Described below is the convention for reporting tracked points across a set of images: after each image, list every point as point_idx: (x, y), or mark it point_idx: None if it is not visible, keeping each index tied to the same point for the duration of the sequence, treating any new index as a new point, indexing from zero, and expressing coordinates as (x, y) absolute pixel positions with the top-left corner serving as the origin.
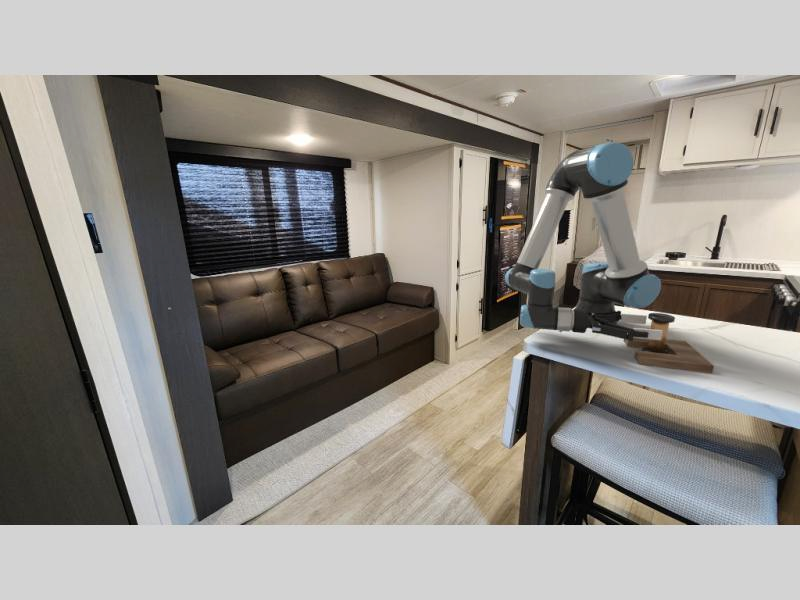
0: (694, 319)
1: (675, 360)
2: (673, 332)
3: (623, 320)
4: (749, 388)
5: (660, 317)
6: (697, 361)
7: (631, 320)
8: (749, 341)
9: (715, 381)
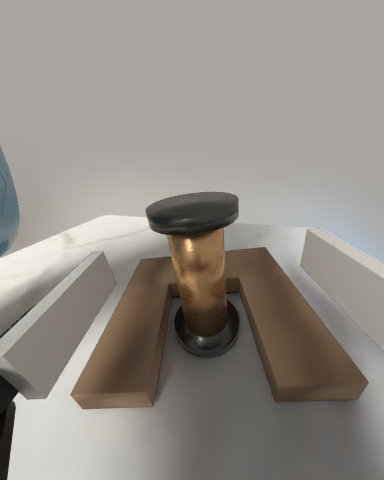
0: (28, 248)
1: (285, 285)
2: (66, 272)
3: (48, 370)
4: (289, 241)
5: (216, 202)
6: (257, 258)
7: (79, 320)
8: (122, 228)
9: (299, 261)
